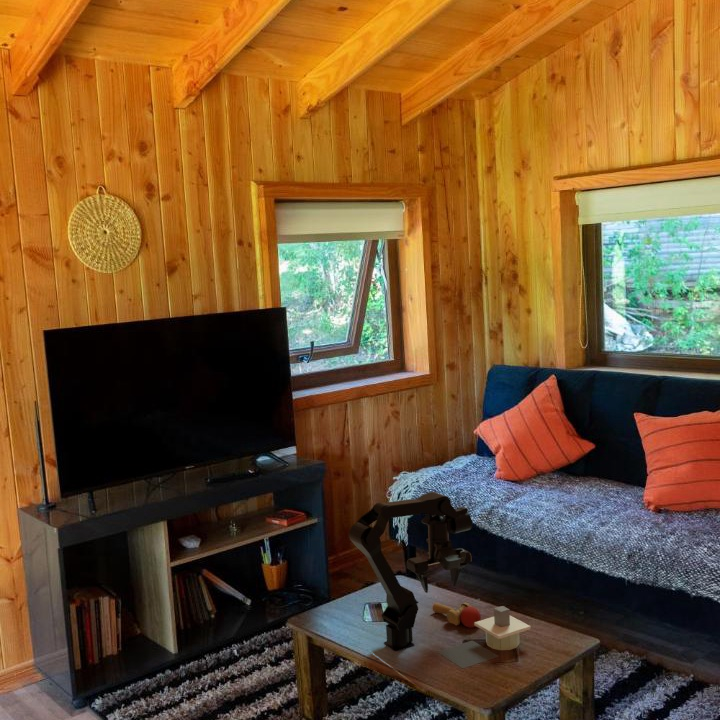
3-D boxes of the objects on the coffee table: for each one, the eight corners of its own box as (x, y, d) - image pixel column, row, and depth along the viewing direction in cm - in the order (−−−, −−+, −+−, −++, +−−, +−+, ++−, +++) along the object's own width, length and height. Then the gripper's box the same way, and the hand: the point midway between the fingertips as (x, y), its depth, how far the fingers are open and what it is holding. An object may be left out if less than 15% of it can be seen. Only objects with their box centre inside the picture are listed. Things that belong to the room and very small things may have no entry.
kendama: (425, 621, 273) (467, 631, 258) (425, 599, 273) (467, 608, 259) (444, 618, 277) (486, 627, 263) (444, 597, 278) (486, 605, 264)
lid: (498, 639, 243) (498, 620, 243) (474, 625, 253) (473, 607, 252) (530, 628, 248) (530, 610, 248) (505, 615, 258) (505, 597, 257)
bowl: (500, 654, 245) (499, 636, 245) (480, 642, 253) (479, 625, 252) (526, 645, 250) (525, 628, 249) (505, 634, 257) (505, 617, 257)
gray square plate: (462, 669, 238) (462, 668, 238) (437, 653, 248) (436, 651, 248) (499, 657, 243) (498, 656, 243) (472, 641, 254) (472, 640, 254)
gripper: (424, 550, 247) (426, 605, 249) (481, 538, 255) (482, 591, 257) (404, 539, 257) (406, 592, 258) (460, 528, 265) (461, 579, 267)
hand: (440, 589), depth 260 cm, fingers open, 9 cm apart
